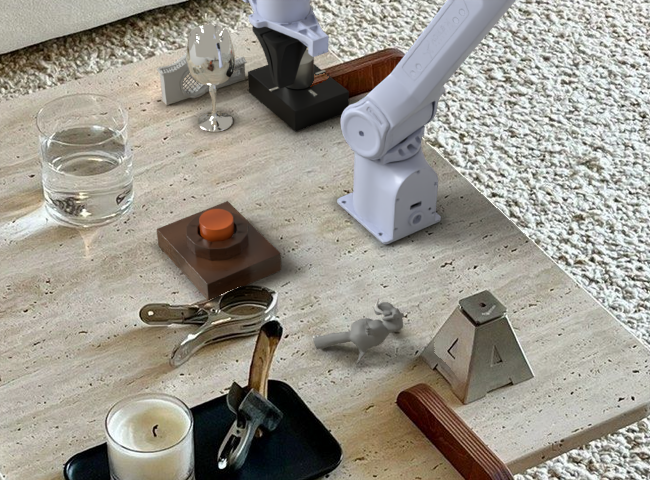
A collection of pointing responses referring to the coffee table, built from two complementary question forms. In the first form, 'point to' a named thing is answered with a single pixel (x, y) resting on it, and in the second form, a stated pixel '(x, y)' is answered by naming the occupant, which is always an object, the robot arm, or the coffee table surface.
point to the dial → (304, 73)
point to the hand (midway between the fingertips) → (283, 83)
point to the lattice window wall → (178, 71)
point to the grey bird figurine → (366, 330)
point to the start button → (216, 225)
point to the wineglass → (211, 68)
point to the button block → (219, 254)
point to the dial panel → (299, 99)
